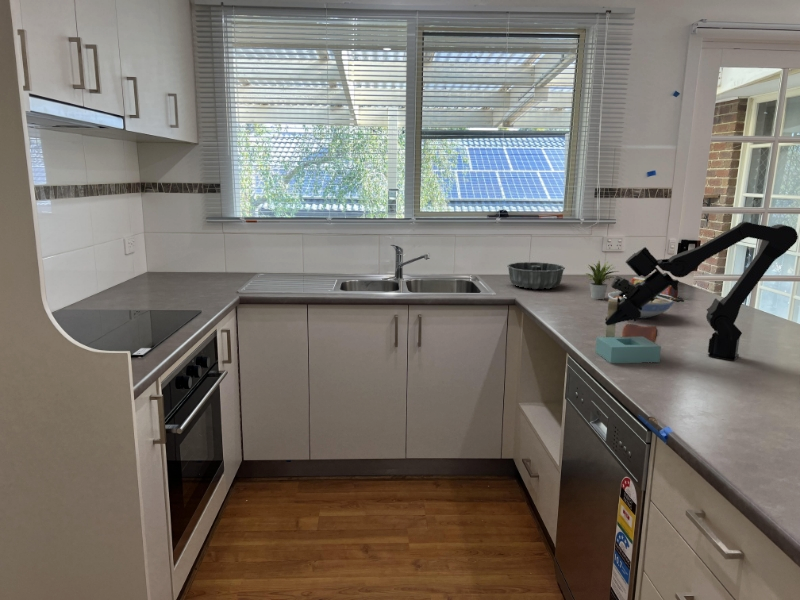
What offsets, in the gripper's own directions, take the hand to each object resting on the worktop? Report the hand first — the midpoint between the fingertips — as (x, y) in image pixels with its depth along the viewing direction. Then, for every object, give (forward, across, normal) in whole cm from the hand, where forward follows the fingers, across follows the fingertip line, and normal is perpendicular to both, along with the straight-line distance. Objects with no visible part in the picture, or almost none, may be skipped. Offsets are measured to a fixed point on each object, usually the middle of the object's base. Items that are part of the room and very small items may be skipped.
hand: (606, 322), depth 167 cm
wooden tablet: (-2, -16, +13) cm, 20 cm away
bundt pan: (+28, -94, -17) cm, 99 cm away
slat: (+4, 0, +6) cm, 7 cm away
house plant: (+8, -73, +3) cm, 73 cm away
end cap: (+1, +10, +9) cm, 14 cm away
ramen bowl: (-3, -45, +14) cm, 47 cm away
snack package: (-8, -92, +19) cm, 94 cm away
